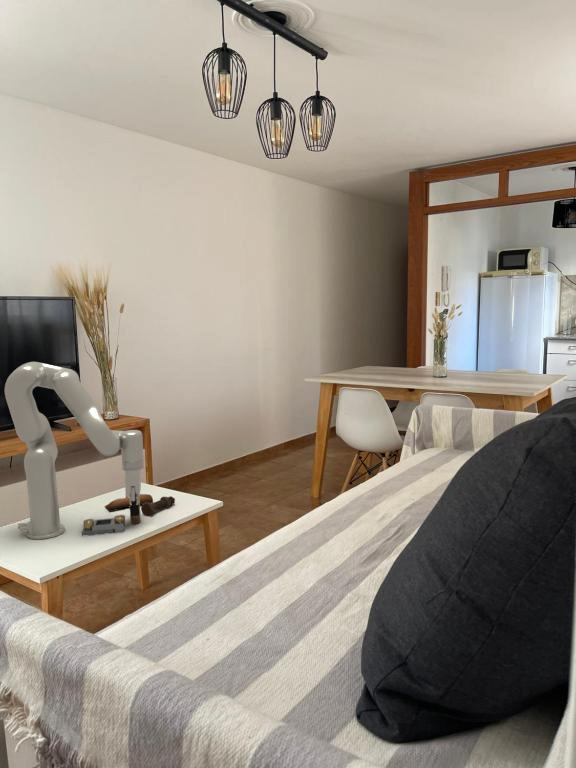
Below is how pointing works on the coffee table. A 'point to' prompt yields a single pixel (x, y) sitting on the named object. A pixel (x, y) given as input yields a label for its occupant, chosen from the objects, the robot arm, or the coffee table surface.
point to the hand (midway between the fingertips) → (135, 513)
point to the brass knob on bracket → (104, 525)
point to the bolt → (157, 505)
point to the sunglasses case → (127, 502)
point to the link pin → (135, 518)
